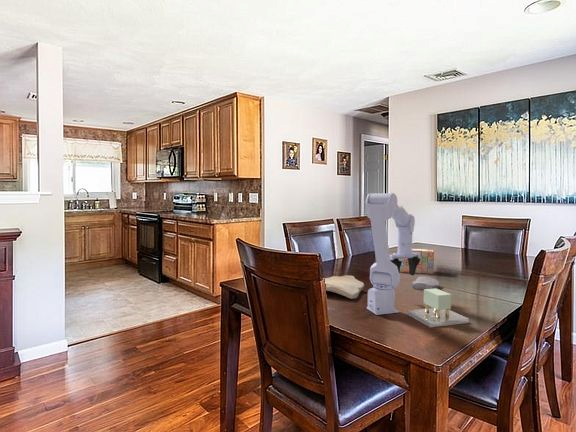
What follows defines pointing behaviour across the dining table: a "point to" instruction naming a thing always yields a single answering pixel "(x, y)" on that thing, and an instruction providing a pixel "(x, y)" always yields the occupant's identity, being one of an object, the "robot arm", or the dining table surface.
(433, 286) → the stone block
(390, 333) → the dining table surface
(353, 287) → the cream rock
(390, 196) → the robot arm
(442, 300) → the block
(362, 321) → the dining table surface
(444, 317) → the base plate
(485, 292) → the dining table surface
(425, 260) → the stack of blocks
